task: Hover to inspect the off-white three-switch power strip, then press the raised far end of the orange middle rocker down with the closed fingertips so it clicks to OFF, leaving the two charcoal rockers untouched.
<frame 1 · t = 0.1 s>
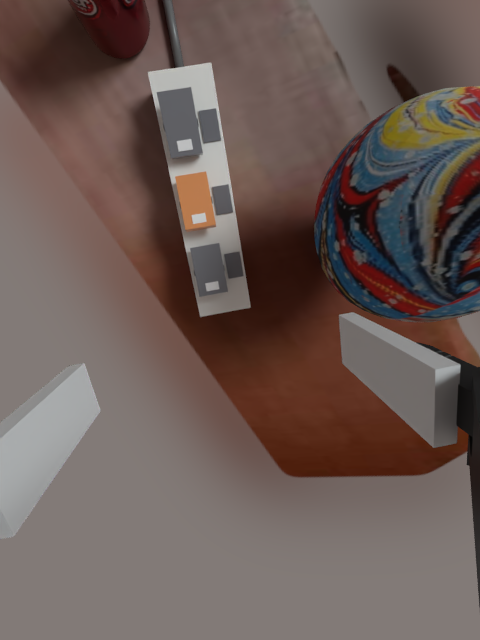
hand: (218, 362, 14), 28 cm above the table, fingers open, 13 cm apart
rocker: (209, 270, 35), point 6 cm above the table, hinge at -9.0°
vase: (343, 229, 41), on the table
power strip: (206, 207, 38), on the table
soda can: (119, 25, 33), on the table
rocker middle: (196, 202, 33), point 6 cm above the table, hinge at -9.0°
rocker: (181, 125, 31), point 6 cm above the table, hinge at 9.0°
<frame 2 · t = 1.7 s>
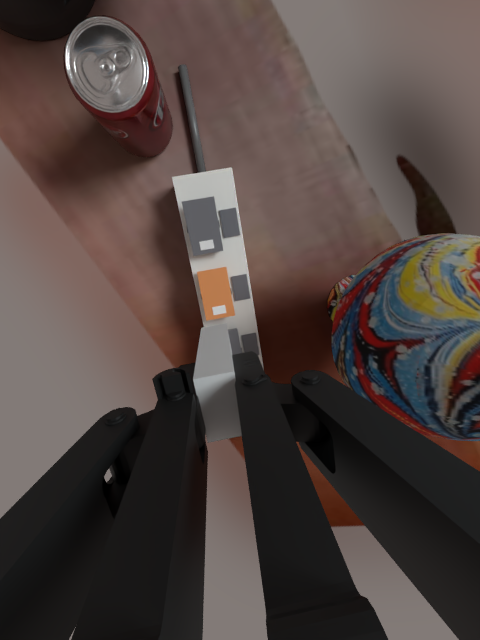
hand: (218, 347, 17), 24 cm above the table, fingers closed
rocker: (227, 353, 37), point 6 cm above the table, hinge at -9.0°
vase: (353, 302, 43), on the table
power strip: (223, 286, 40), on the table
soda can: (143, 126, 35), on the table
rocker middle: (216, 293, 35), point 6 cm above the table, hinge at -9.0°
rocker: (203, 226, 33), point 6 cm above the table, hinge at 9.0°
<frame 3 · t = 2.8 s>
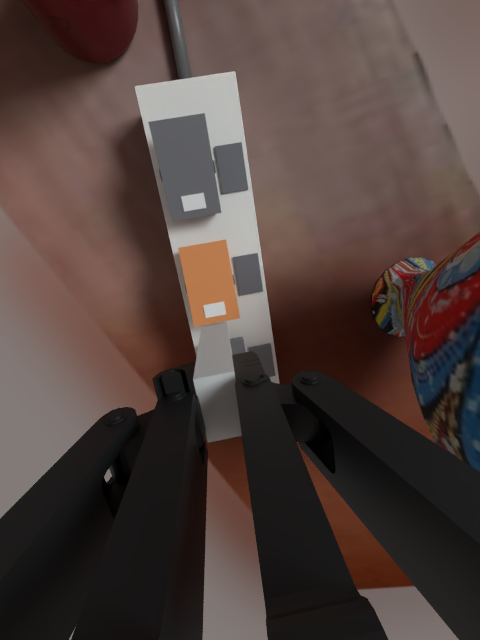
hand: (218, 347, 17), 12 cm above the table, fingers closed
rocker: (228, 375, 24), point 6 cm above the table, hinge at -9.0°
vase: (408, 298, 30), on the table
power strip: (221, 273, 27), on the table
soda can: (91, 11, 21), on the table
rocker middle: (210, 283, 22), point 6 cm above the table, hinge at -9.0°
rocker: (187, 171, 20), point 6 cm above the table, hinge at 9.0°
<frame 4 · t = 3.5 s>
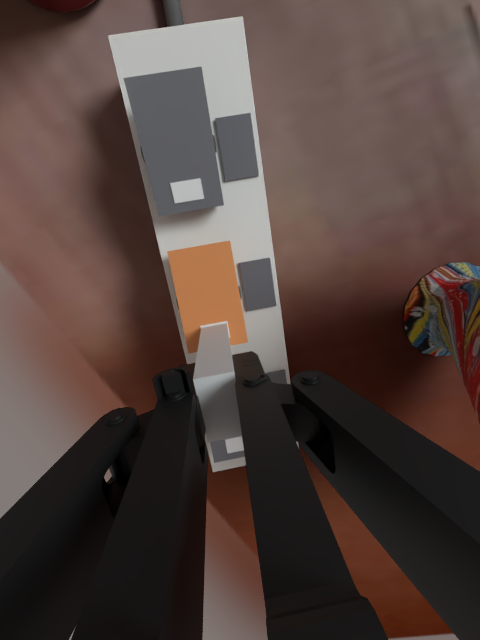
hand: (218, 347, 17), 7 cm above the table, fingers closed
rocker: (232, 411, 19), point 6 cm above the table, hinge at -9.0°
vase: (447, 310, 25), on the table
power strip: (222, 282, 22), on the table
rocker middle: (209, 297, 17), point 6 cm above the table, hinge at -8.8°, touching gripper
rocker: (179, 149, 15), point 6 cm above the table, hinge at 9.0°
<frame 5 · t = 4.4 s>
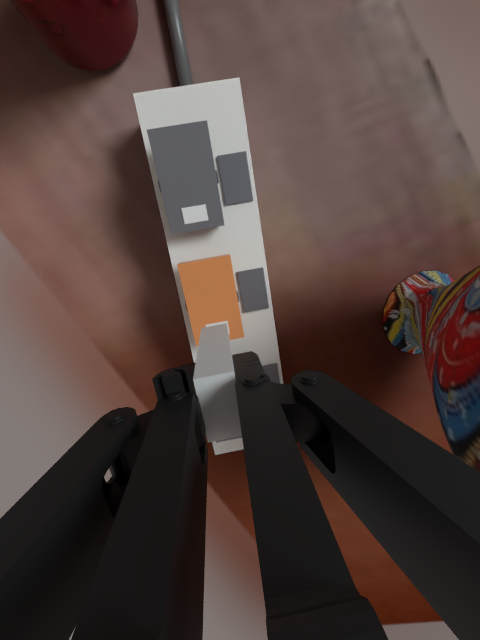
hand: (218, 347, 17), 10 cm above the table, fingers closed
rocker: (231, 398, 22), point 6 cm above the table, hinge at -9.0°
vase: (421, 313, 28), on the table
power strip: (223, 288, 26), on the table
soda can: (89, 18, 20), on the table
rocker middle: (212, 300, 20), point 6 cm above the table, hinge at 3.4°
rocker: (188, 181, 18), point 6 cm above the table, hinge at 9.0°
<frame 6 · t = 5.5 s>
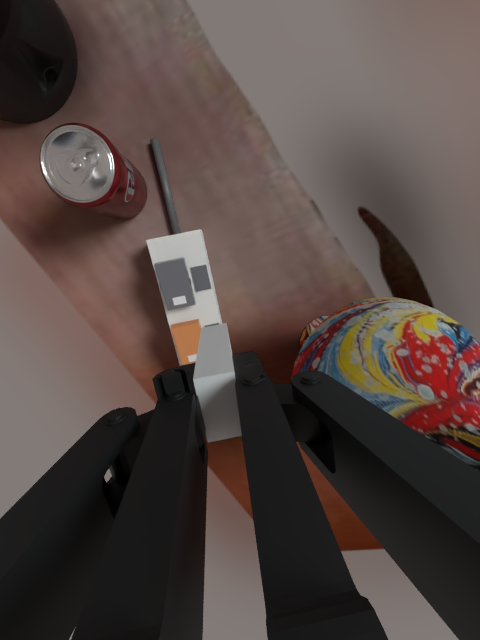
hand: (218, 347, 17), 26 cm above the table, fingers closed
vase: (325, 340, 45), on the table
power strip: (200, 330, 43), on the table
soda can: (121, 191, 38), on the table
rocker middle: (190, 343, 38), point 6 cm above the table, hinge at 13.2°
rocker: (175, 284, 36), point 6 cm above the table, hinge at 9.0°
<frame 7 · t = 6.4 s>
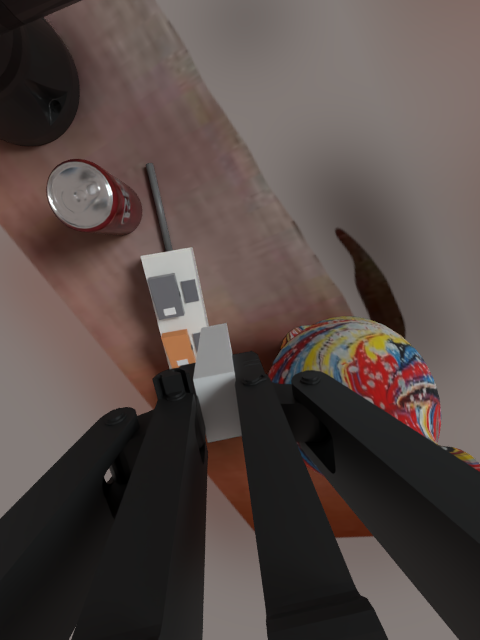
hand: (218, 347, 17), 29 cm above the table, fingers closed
vase: (304, 348, 49), on the table
power strip: (189, 336, 47), on the table
soda can: (118, 209, 41), on the table
rocker middle: (179, 349, 42), point 6 cm above the table, hinge at 18.7°, touching power strip
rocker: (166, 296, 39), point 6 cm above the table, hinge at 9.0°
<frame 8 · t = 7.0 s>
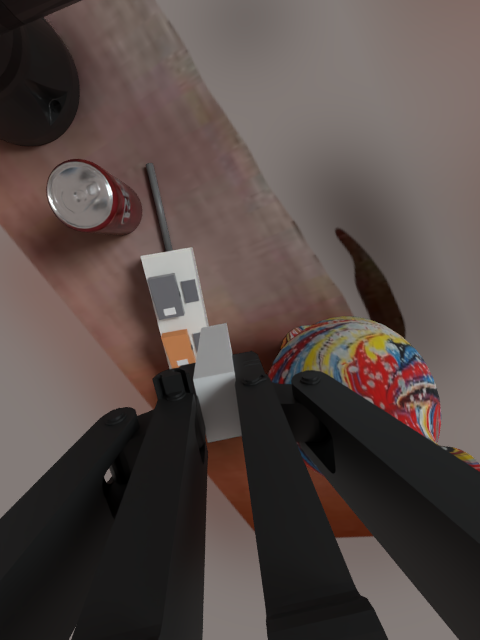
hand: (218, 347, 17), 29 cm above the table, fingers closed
vase: (304, 348, 49), on the table
power strip: (189, 336, 47), on the table
soda can: (118, 209, 41), on the table
rocker middle: (179, 349, 42), point 6 cm above the table, hinge at 18.3°, touching power strip
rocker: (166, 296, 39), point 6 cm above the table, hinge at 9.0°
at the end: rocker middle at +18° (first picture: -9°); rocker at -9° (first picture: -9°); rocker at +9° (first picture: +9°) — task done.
